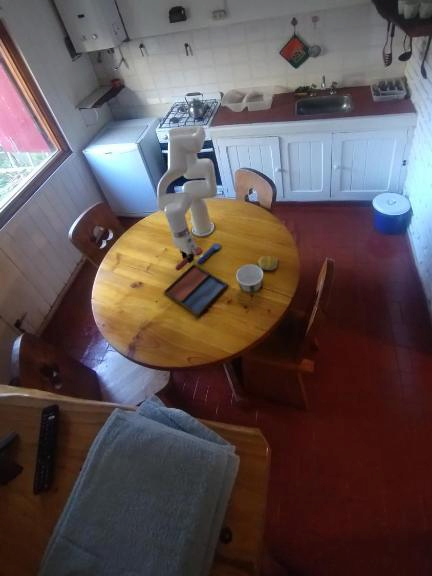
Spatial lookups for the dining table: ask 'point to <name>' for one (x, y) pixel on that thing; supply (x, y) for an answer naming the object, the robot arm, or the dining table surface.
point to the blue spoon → (208, 253)
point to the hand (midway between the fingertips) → (188, 259)
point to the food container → (250, 277)
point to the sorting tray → (196, 289)
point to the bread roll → (268, 262)
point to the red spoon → (185, 261)
